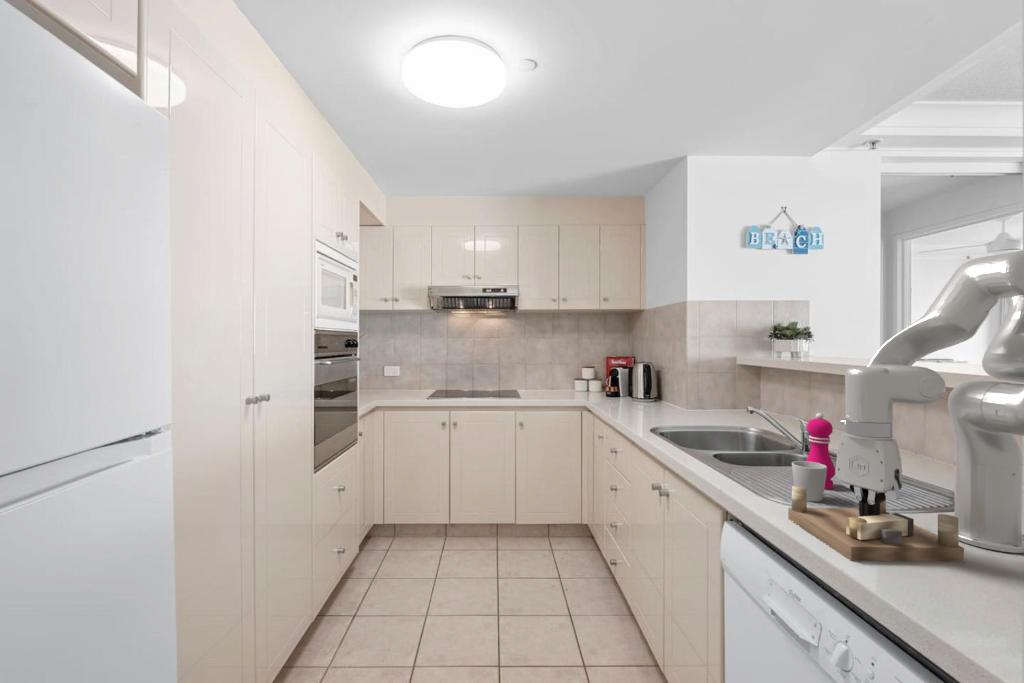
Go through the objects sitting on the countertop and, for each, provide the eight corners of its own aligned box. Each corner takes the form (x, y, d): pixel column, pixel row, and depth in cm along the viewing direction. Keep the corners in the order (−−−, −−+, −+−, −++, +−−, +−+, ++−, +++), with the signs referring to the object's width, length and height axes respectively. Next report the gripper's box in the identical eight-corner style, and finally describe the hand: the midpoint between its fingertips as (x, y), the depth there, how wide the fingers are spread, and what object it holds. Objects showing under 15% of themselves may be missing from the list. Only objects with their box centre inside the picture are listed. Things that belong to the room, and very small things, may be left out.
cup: (789, 499, 119) (789, 465, 119) (794, 489, 127) (794, 457, 127) (825, 505, 114) (825, 470, 114) (828, 495, 122) (829, 462, 122)
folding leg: (859, 540, 88) (859, 522, 88) (844, 533, 91) (844, 516, 91) (913, 535, 90) (913, 518, 90) (896, 529, 93) (896, 512, 93)
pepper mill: (823, 481, 134) (823, 410, 134) (841, 490, 126) (842, 414, 126) (798, 482, 133) (798, 411, 133) (815, 490, 126) (815, 415, 126)
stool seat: (851, 560, 85) (851, 519, 85) (788, 519, 105) (788, 485, 105) (963, 561, 85) (964, 520, 85) (879, 519, 105) (879, 486, 105)
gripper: (819, 424, 100) (820, 511, 100) (897, 438, 86) (898, 539, 86) (844, 422, 102) (845, 507, 102) (924, 434, 88) (925, 533, 88)
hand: (869, 521), depth 94 cm, fingers closed
